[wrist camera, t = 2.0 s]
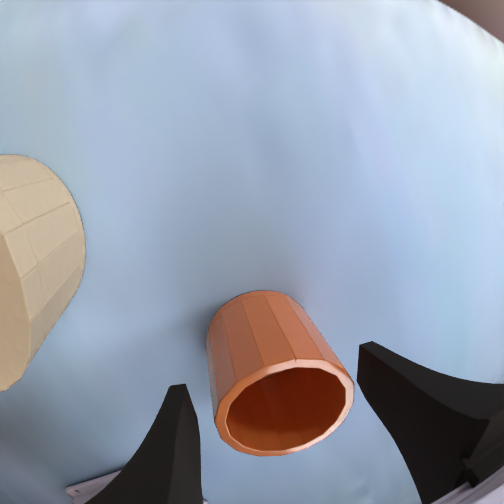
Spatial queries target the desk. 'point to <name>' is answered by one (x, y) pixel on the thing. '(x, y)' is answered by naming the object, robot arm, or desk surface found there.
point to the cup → (273, 376)
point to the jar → (34, 259)
